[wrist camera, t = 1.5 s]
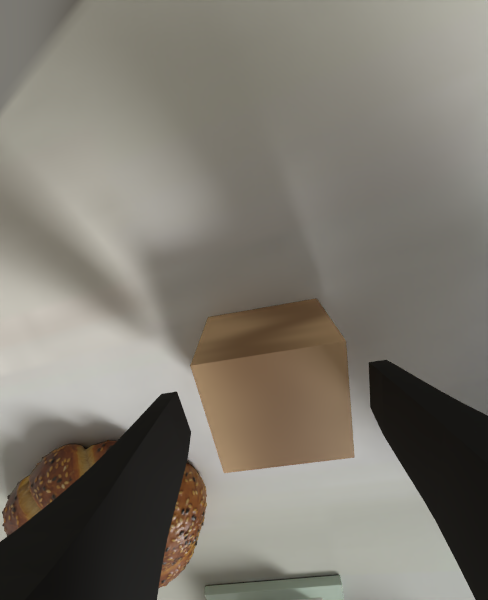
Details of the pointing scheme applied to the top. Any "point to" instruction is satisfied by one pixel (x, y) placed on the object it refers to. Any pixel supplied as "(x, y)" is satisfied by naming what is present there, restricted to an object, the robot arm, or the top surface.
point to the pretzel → (73, 464)
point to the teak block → (275, 386)
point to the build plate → (280, 590)
